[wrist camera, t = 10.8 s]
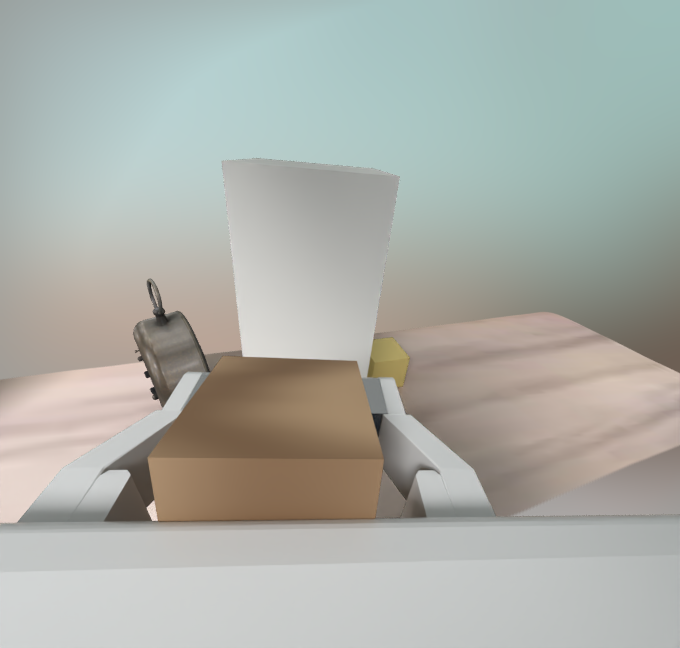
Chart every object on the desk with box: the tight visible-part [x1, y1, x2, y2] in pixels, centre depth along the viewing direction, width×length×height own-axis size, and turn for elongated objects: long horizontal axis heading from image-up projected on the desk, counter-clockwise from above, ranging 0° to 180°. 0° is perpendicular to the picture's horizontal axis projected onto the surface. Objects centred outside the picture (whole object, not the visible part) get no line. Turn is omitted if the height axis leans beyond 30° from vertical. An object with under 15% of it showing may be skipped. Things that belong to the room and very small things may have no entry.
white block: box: [222, 158, 400, 377], centre depth 31 cm, size 12×12×26 cm
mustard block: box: [367, 337, 410, 387], centre depth 41 cm, size 5×5×5 cm
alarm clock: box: [133, 279, 210, 407], centre depth 30 cm, size 11×5×16 cm, turn 39°
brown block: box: [148, 356, 384, 522], centre depth 11 cm, size 7×22×7 cm
